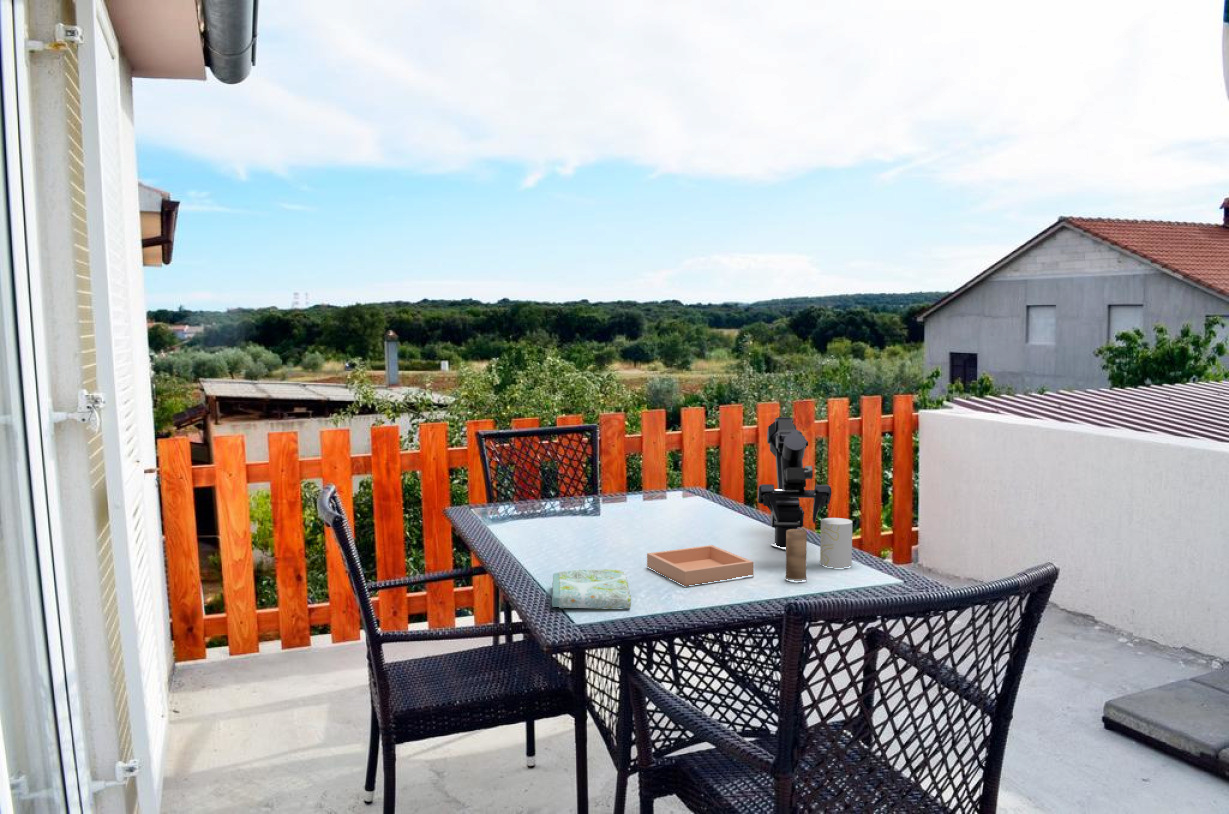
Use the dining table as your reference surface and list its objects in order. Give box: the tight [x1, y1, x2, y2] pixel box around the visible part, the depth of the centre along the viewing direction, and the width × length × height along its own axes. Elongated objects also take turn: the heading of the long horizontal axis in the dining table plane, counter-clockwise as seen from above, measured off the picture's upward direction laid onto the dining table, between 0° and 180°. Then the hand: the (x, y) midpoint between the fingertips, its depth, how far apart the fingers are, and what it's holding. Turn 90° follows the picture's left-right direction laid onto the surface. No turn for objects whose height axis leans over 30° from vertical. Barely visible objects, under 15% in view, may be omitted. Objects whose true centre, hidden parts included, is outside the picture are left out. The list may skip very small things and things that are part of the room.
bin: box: [646, 544, 755, 586], centre depth 242 cm, size 20×20×4 cm
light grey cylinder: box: [819, 517, 853, 568], centre depth 248 cm, size 8×8×12 cm
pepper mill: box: [785, 528, 808, 581], centre depth 234 cm, size 5×5×12 cm
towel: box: [551, 568, 632, 609], centre depth 221 cm, size 18×21×5 cm
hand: (796, 522), depth 242 cm, fingers open, 9 cm apart
